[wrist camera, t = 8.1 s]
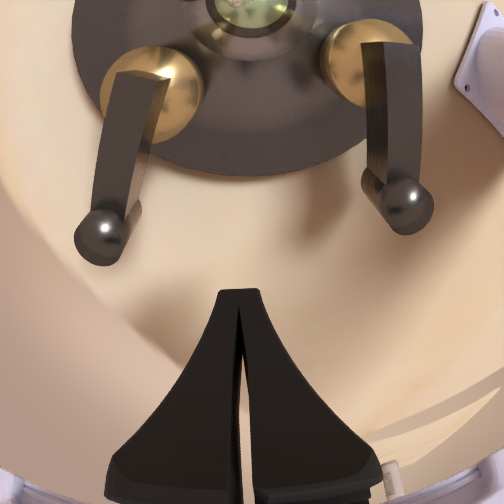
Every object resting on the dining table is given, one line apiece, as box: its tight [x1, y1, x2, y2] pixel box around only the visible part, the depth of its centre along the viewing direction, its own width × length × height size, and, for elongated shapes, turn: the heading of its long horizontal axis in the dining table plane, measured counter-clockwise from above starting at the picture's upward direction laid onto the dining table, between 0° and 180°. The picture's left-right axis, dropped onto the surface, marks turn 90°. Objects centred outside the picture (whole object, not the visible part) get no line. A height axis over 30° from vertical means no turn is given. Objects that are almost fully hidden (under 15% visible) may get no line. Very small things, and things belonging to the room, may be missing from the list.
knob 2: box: [319, 19, 434, 235], centre depth 11 cm, size 9×4×5 cm, turn 9°
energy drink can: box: [381, 460, 405, 501], centre depth 65 cm, size 6×6×15 cm
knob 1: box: [74, 46, 204, 266], centre depth 11 cm, size 9×4×5 cm, turn 159°
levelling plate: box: [72, 0, 423, 176], centre depth 10 cm, size 18×18×3 cm
